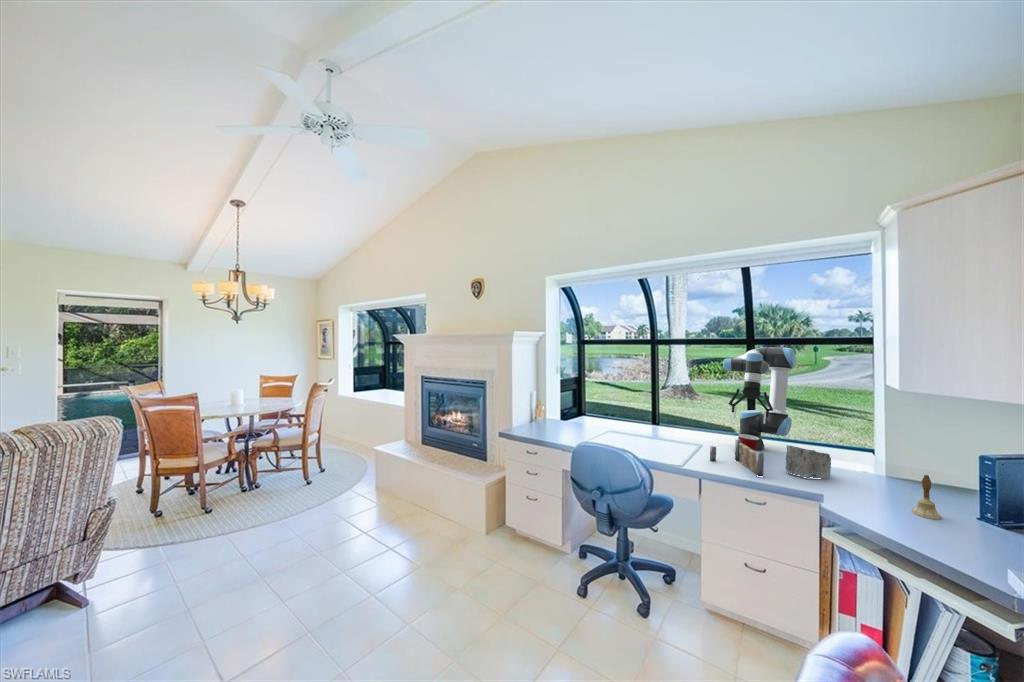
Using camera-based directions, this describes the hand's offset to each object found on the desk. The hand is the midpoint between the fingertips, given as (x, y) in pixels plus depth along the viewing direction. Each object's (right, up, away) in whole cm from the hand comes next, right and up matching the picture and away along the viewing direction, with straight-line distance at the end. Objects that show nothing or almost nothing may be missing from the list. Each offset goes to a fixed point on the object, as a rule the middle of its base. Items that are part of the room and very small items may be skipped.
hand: (749, 421), depth 205 cm
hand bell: (+40, -27, -50) cm, 70 cm away
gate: (+1, -25, +2) cm, 25 cm away
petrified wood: (+26, -26, -7) cm, 38 cm away
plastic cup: (+14, -26, +23) cm, 37 cm away
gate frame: (-6, -26, +3) cm, 27 cm away
